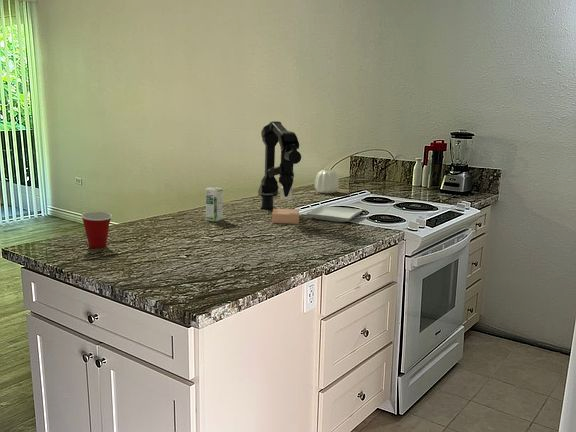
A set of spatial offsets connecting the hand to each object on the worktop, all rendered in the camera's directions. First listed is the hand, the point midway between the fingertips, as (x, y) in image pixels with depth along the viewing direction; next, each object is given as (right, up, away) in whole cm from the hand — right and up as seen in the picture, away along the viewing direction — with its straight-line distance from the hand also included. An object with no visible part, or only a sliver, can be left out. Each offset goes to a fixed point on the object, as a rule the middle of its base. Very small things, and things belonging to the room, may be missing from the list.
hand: (286, 195), depth 258 cm
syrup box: (-32, -11, -1) cm, 34 cm away
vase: (+23, +4, +76) cm, 80 cm away
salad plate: (+23, -10, +12) cm, 27 cm away
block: (0, -1, 0) cm, 1 cm away
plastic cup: (-69, -20, -48) cm, 86 cm away
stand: (0, -11, +2) cm, 11 cm away
